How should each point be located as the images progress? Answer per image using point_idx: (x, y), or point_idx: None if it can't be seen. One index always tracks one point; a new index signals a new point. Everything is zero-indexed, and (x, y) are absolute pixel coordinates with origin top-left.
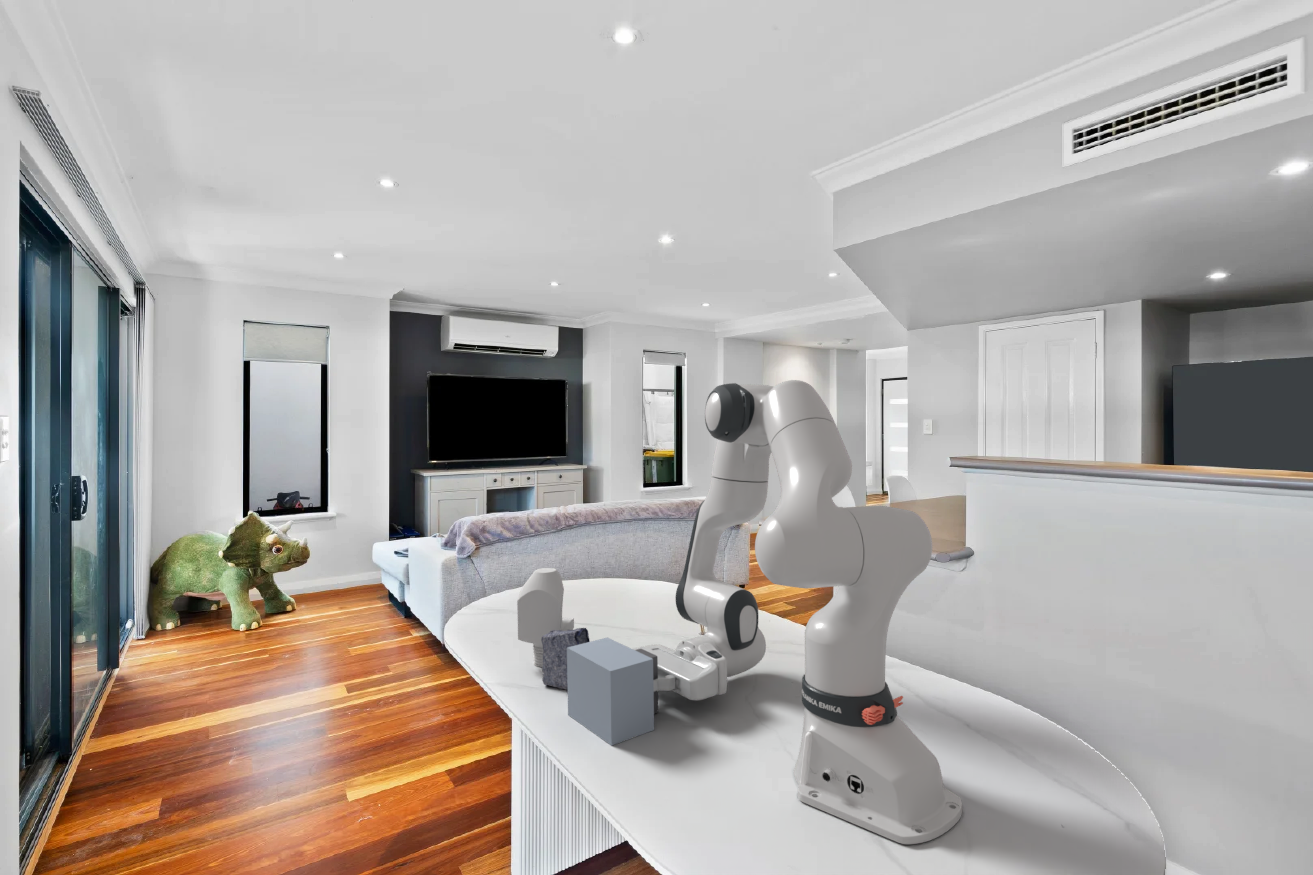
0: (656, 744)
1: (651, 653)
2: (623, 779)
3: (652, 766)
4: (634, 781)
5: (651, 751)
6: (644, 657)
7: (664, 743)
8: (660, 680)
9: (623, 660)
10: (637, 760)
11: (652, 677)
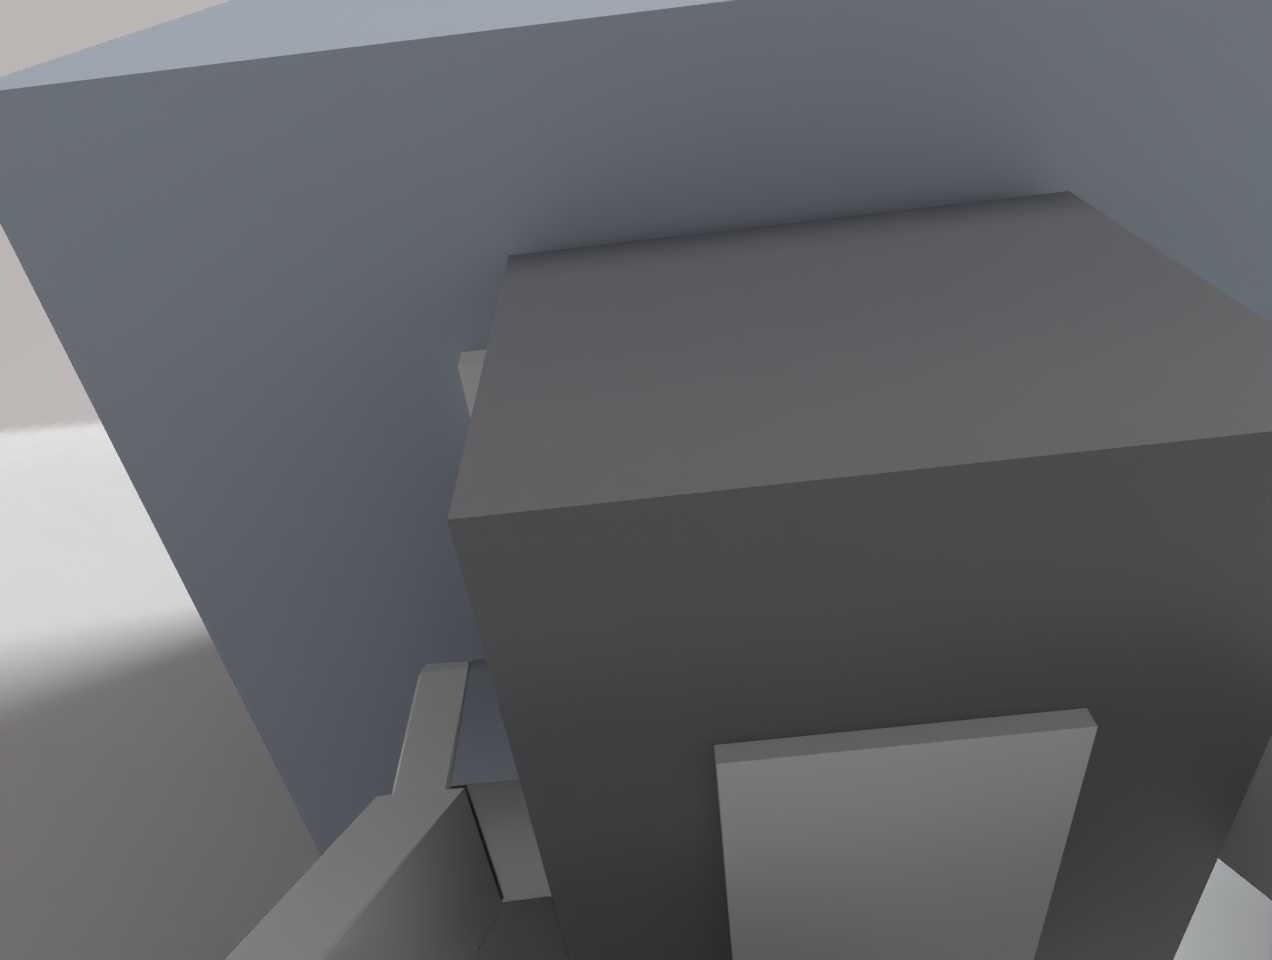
0: (159, 793)
1: (770, 484)
2: (122, 508)
3: (26, 647)
4: (54, 535)
5: (136, 717)
6: (140, 62)
7: (100, 855)
8: (347, 840)
9: (353, 4)
10: (161, 611)
11: (107, 411)
